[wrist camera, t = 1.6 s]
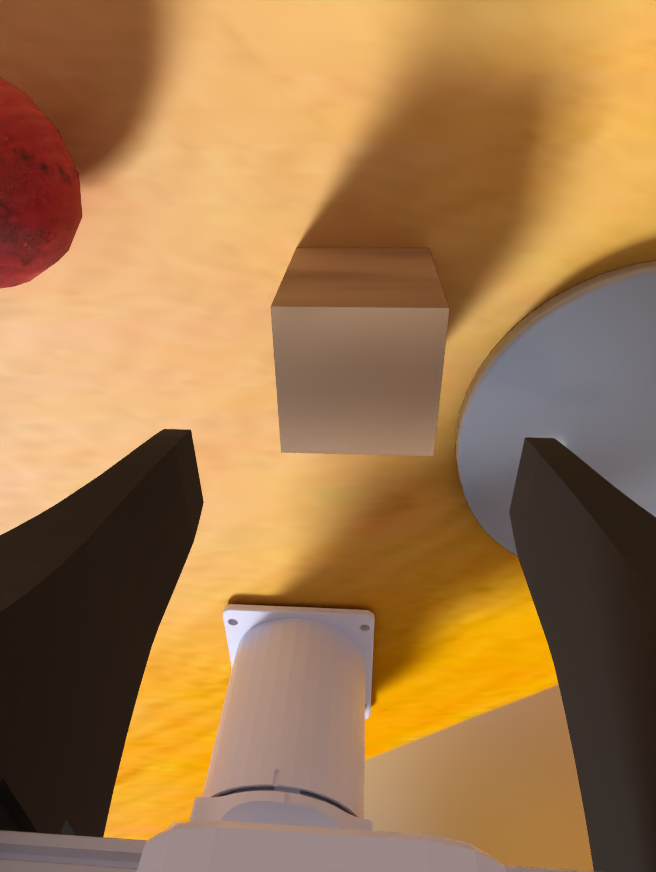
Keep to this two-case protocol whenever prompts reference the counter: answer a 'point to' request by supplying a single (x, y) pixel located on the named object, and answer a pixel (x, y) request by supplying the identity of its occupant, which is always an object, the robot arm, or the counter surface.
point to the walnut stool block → (359, 351)
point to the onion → (33, 190)
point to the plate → (567, 394)
